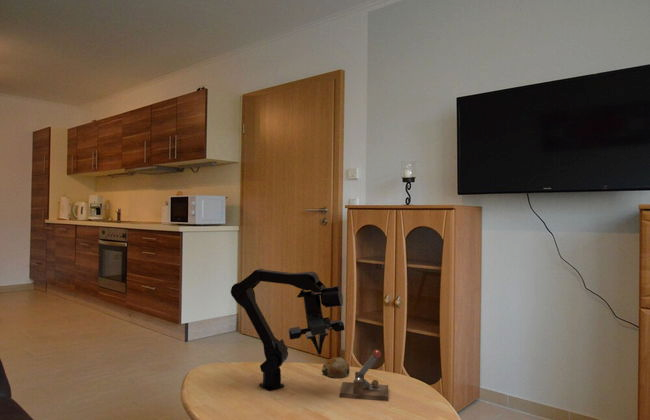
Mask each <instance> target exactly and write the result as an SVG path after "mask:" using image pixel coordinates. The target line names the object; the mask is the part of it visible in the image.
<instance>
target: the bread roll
mask: <svg viewBox="0 0 650 420" xmlns="http://www.w3.org/2000/svg"><path fill="white" fill-rule="evenodd" d="M321 372H322V373H323V375H325V376H326V377H328V378H333V379H335V378H336V379H342V378H348V377H349V376H350V365H349V363H348V362H347V361H346V360H345V359H344V358H342V357H338V356H337V357H331V358H329V359H327V360H326V361H325V362H324V364H323V365H322V369H321Z"/></svg>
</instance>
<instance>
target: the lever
mask: <svg viewBox="0 0 650 420" xmlns="http://www.w3.org/2000/svg"><path fill="white" fill-rule="evenodd" d="M381 356H382V352H381V350H379V349H374V350H373V352H372V355H370V357H368V359H367V361H366V362H365V363H364V365H363V366H362V367H361V368H360V370H359V371H357V372H358V373H357V375H356V376H355V375H354V376H355V377H354V378H356V380H359V381H363V385H364V386H365V387H367V388H369V386H370V384H371V382H369V381H368V380H366V379H365V374H366V373H367V372H368V371H369V370H370V368H371V367H372V366H373V365H374V364H375V362H376V361H377V360H378V359H379V358H381ZM363 376H364V378H363ZM362 378H363V379H362Z"/></svg>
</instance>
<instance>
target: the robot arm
mask: <svg viewBox="0 0 650 420" xmlns="http://www.w3.org/2000/svg"><path fill="white" fill-rule="evenodd" d="M261 282H265V283H271V284H272V283H273V284H282V285H290V286H293V287H295V288H297V289H299V290H300V292H299V294H298V295H297V296H296V297H297V298H303V304H304V312H305V319H306V326H307V327H304V328H301V327H300V326H296V327H295V326H293V327H291V328H290V327H289V329H288V330H287V331H288V337H289V339H290V340H296V339H301V337H302V335H305V338H306V339H307V340H311V342H312V344H313V346H314V347H315V350H316V352H317V355H318V356H321V354H322V351H323V345H324V341H325V338H326V337H328V336H329V332H328V331H330V330H333V331H334V332H336V333H337V332H343V331H345V324H344V322H343V321H342V320H340V319H334V320H331V318H330V317H329V316H328V317H324V314H323V308H322V306H323V307H325V308H337V307H343V304H344V303H343V302H344V298H343V294H342V290H341V289H340V285H335V286H330V287H327V286H326V285H325V284H324V283H323V282H322V281H321V280H320V277H319V275H318V274H317V273H316V272H315V271H301V272H288V271H287V272H286V271H278V270H277V271H276V270H269V269H263V268H258V269H254V270H253V271H252V272H251V274H249V275H247V277H245V278H244V279H243V280H241V281H240V282H236V283H235V284H233V285H232V286H231V289H230V295H231V297H232V298H233V299H234V301H235V302H236V304H238V305H239V306H240V307H242V308H243V310H244V311H245V314H246V315H247V317H248V318H249V320H250V322H251V324H252V326H253V328H254V329H255V331H256V333H257V335H258V337H259V339H260V341H261V343H262V345H263V354H264V357H265V359H266V360H264V362H262V363H261V364H260V365H259V369H260V371H261V373H262V382H260V383H259V384H258V386H259V387H261V388H264V389H265V390H267V391H269V392H270V391H273V390H276V389H281V388H284V387H285V385H284V384H283V383H282V374H281V372H282V369H281V366H282V365H283V364H284V363H285V361H287V359H288V356H289V352H288V349H289V348H288V347H287V345H286V344H285V341H284V339H283V338H282V339H280V340H279V339H277V338H276V337H275V335H274V333H273V331H272V330H271V328H270V326H269V324H268V322H267V320H266V318H265V317H264V314H263V313H262V311H261V309H260V307H259V306H258V303H257V300H256V292H255V289H254V288H256V287H257V286H258V285H259V284H260V283H261ZM317 339H318V341H317Z"/></svg>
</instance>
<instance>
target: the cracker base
mask: <svg viewBox="0 0 650 420" xmlns="http://www.w3.org/2000/svg"><path fill="white" fill-rule="evenodd" d="M358 372H359V371H355V373H354V376H356V375H357V373H358ZM354 378H355V377H354ZM363 378H364V379H365V375H364V376H363ZM363 378H362V379H363ZM339 398H344V399H345V398H346V399H358V400H359V399H360V400H371V401H381V402H382V401H384V402H388V401H389V384H379V381H378V379H373V380H372V381H371V382H370V386H369V388H367V387H365V386H364V385H363V381H359V380H356V378H355V379H354V380H353V382H349V381H342V383H341V387H340V389H339Z"/></svg>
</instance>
